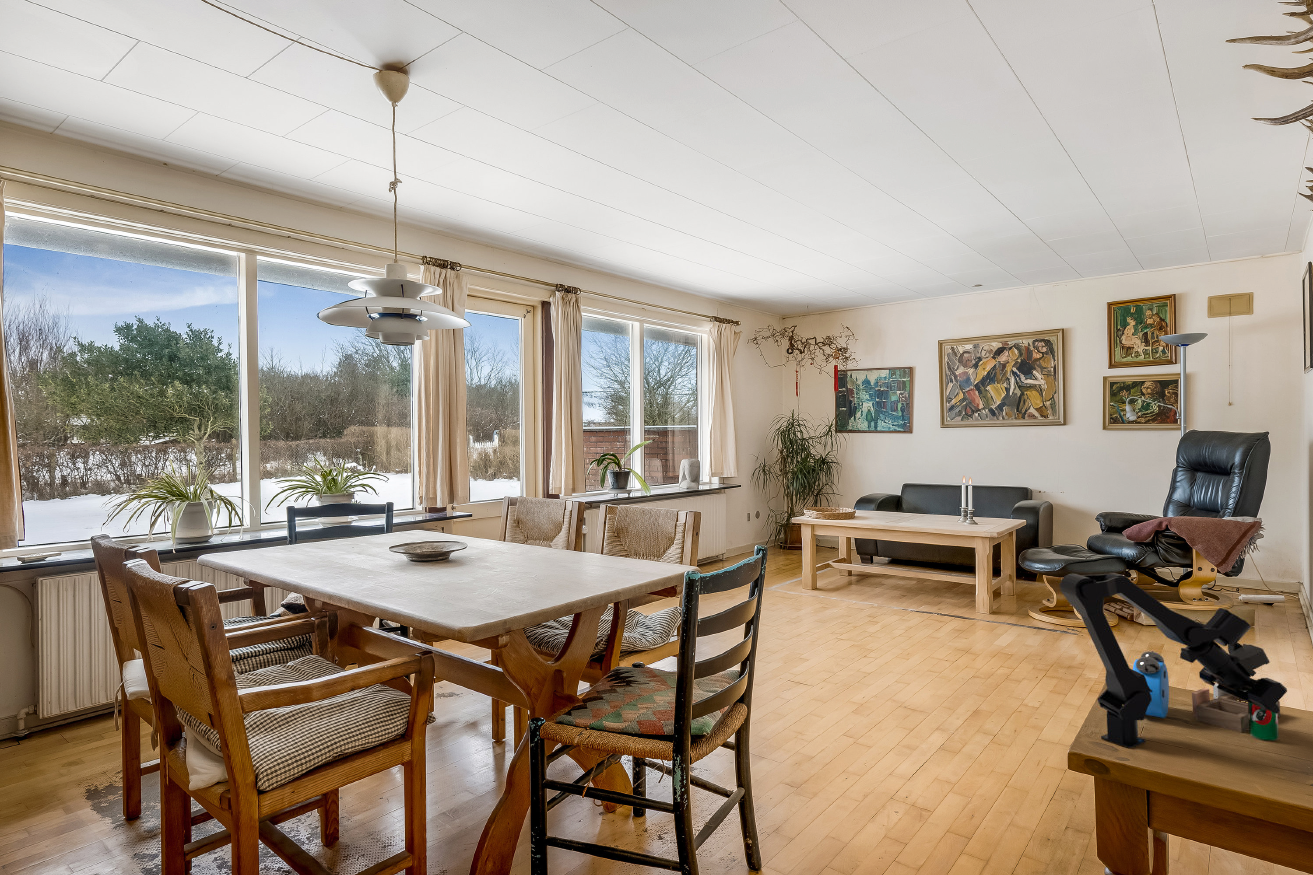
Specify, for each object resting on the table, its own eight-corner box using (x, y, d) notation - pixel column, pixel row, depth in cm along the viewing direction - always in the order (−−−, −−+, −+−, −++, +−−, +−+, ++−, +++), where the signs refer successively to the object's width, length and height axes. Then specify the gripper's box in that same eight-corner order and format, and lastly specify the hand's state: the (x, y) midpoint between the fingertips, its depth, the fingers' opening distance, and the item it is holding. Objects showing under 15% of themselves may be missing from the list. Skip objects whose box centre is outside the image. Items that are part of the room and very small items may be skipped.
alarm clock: (1142, 704, 181) (1139, 646, 181) (1171, 710, 176) (1168, 650, 177) (1132, 720, 171) (1129, 658, 171) (1163, 726, 167) (1160, 662, 167)
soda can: (1284, 742, 156) (1281, 688, 156) (1258, 741, 157) (1255, 687, 157) (1269, 733, 161) (1266, 680, 161) (1244, 732, 162) (1241, 680, 162)
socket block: (1241, 732, 162) (1240, 706, 162) (1189, 718, 171) (1188, 693, 171) (1280, 715, 170) (1279, 690, 170) (1229, 702, 180) (1228, 679, 180)
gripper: (1275, 645, 150) (1331, 696, 149) (1209, 624, 169) (1258, 669, 168) (1240, 683, 150) (1295, 734, 150) (1177, 658, 169) (1226, 702, 168)
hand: (1268, 707), depth 159 cm, fingers closed on soda can, 5 cm apart
